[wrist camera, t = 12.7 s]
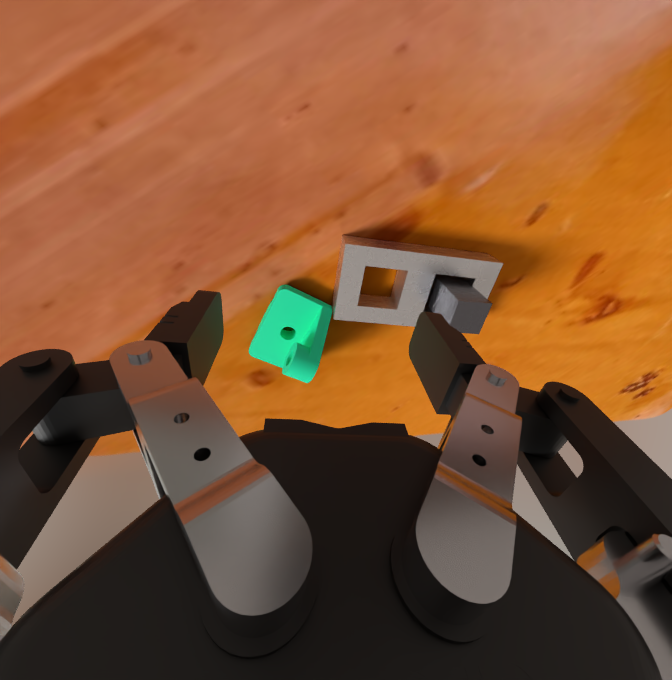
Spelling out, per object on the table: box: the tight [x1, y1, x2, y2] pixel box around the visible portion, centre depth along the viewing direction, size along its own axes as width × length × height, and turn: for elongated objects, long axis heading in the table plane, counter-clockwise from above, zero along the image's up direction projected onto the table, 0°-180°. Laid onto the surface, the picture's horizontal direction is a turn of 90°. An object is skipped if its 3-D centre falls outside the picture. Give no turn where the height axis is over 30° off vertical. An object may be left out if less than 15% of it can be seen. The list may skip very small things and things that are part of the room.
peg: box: [426, 274, 492, 334], centre depth 38 cm, size 4×4×10 cm
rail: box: [332, 235, 503, 327], centre depth 40 cm, size 10×20×4 cm, turn 82°
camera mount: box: [249, 285, 332, 383], centre depth 40 cm, size 12×8×10 cm, turn 150°
